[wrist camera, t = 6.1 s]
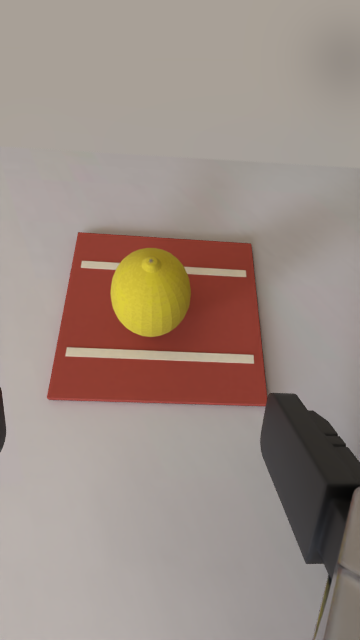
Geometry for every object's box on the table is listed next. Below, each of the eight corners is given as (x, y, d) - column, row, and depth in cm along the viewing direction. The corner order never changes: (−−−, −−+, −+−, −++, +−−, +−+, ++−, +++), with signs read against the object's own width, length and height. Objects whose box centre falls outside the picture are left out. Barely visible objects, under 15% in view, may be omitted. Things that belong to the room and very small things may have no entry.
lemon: (126, 284, 28) (118, 216, 21) (190, 298, 28) (204, 235, 21) (107, 343, 26) (91, 289, 18) (177, 359, 25) (188, 310, 18)
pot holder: (249, 247, 32) (251, 242, 31) (265, 406, 25) (268, 404, 24) (79, 236, 30) (77, 231, 30) (48, 399, 24) (46, 397, 23)
